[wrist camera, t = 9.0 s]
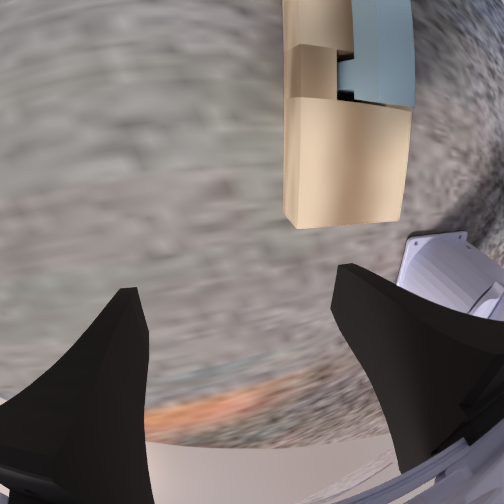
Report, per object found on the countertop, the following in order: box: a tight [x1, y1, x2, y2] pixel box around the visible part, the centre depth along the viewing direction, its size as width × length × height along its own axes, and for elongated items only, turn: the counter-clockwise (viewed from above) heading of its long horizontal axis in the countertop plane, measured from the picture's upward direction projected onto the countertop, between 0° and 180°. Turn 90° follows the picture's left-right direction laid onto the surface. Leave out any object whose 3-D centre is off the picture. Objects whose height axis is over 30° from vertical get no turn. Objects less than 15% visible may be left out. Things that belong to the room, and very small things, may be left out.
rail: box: [282, 0, 412, 229], centre depth 14 cm, size 8×26×3 cm, turn 0°
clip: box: [337, 0, 415, 108], centre depth 12 cm, size 2×10×6 cm, turn 0°
